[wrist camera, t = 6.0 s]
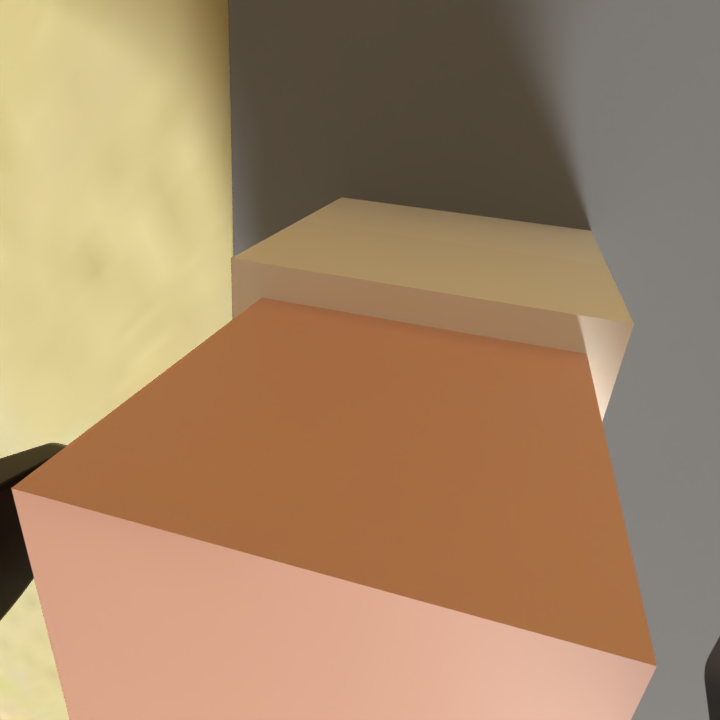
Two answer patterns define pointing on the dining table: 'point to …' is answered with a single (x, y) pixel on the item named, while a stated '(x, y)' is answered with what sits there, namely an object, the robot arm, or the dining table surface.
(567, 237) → the slab lower
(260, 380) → the cube
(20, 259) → the dining table surface
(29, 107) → the dining table surface
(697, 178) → the placemat
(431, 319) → the slab upper
